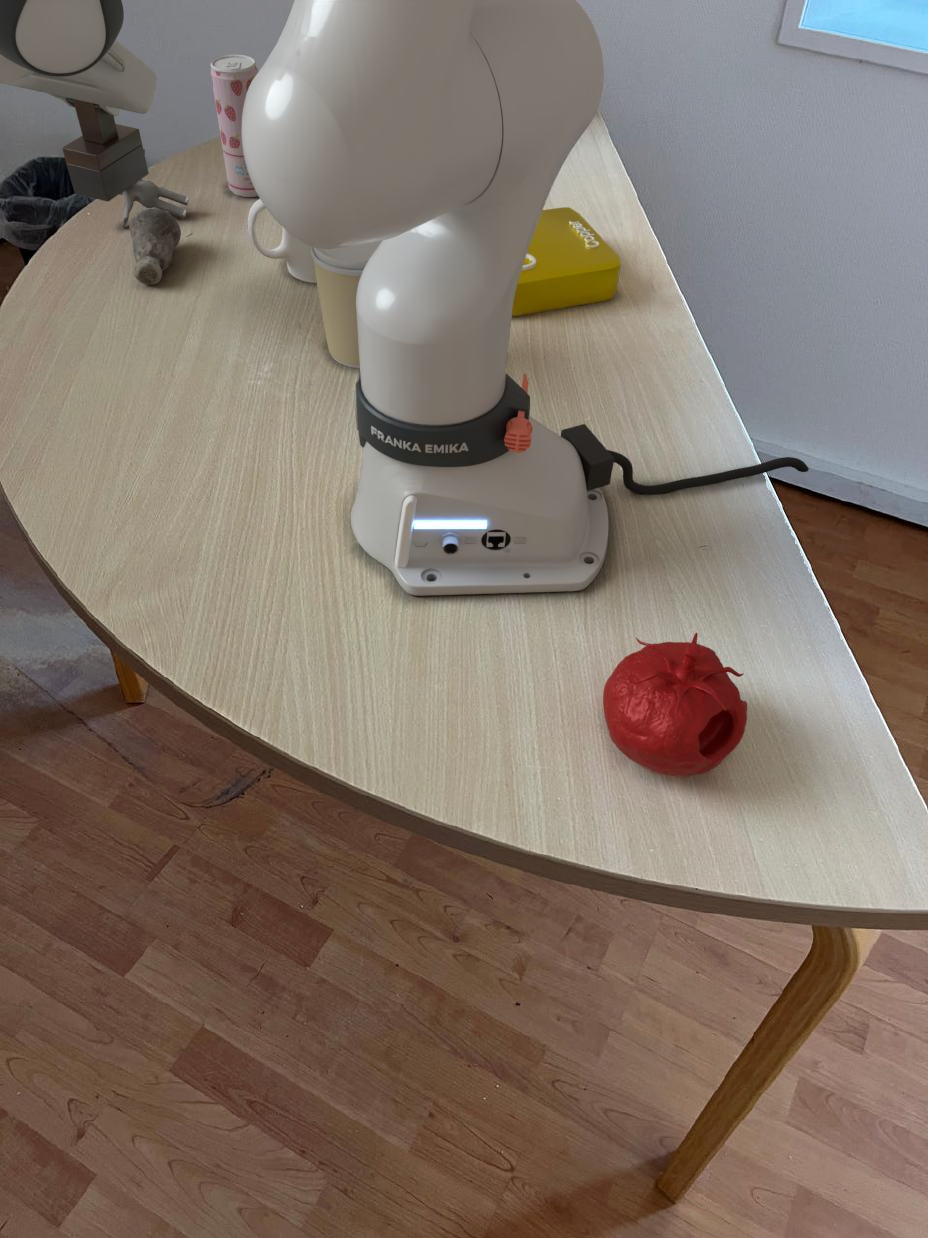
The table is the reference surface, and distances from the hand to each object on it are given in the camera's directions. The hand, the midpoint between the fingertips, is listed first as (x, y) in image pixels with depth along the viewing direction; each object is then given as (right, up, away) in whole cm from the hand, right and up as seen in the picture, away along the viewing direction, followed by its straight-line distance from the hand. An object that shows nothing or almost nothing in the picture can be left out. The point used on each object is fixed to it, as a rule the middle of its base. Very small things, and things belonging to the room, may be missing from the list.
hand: (97, 103), depth 90 cm
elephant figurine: (-4, +1, +27) cm, 28 cm away
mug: (+17, -9, +19) cm, 27 cm away
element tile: (+44, -10, +20) cm, 49 cm away
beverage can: (+7, +7, +32) cm, 34 cm away
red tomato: (+50, -58, -22) cm, 80 cm away
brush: (-1, -5, +5) cm, 7 cm away
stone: (0, -8, +19) cm, 21 cm away
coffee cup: (+25, -21, +9) cm, 34 cm away
